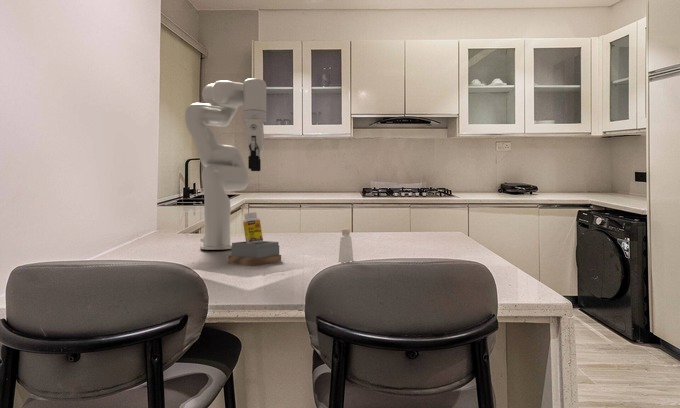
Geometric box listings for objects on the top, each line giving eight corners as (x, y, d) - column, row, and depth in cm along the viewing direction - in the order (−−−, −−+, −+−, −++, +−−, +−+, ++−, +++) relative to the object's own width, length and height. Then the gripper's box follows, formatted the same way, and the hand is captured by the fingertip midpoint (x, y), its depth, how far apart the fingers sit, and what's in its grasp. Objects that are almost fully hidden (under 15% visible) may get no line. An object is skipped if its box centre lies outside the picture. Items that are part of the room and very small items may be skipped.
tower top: (231, 255, 149) (231, 242, 149) (253, 252, 158) (253, 240, 158) (257, 257, 143) (257, 244, 143) (279, 254, 153) (279, 241, 153)
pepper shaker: (356, 261, 153) (356, 228, 153) (351, 263, 148) (351, 229, 148) (340, 260, 155) (340, 228, 155) (335, 262, 150) (335, 229, 150)
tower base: (228, 264, 150) (228, 255, 150) (256, 261, 159) (256, 252, 159) (253, 267, 142) (253, 258, 142) (281, 263, 152) (281, 254, 152)
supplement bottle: (248, 244, 147) (244, 213, 149) (244, 246, 152) (240, 216, 153) (265, 241, 150) (260, 211, 151) (260, 243, 155) (256, 214, 156)
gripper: (265, 112, 143) (265, 168, 143) (267, 122, 160) (267, 171, 160) (240, 112, 142) (240, 167, 142) (245, 122, 159) (245, 171, 159)
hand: (254, 170), depth 151 cm, fingers open, 9 cm apart
